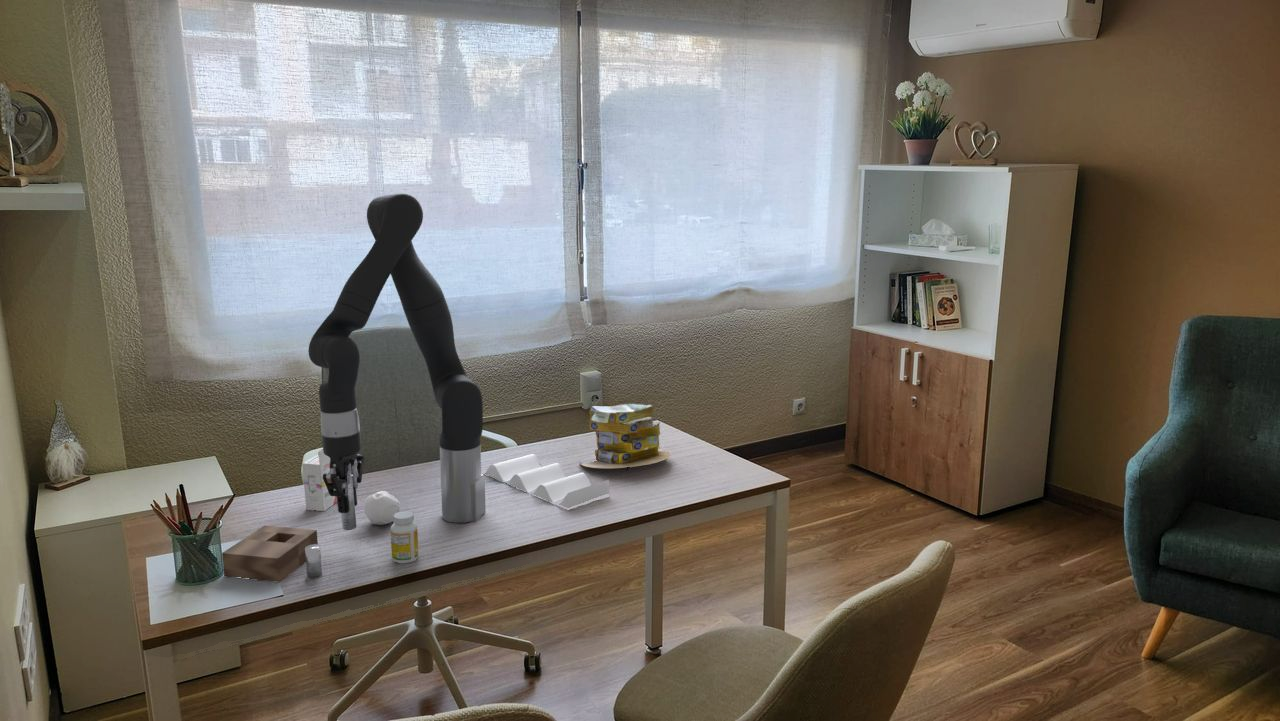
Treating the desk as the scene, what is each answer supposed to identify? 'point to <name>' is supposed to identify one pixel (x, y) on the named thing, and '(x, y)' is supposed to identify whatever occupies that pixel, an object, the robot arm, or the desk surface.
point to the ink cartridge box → (317, 483)
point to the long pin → (349, 517)
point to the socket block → (268, 553)
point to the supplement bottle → (404, 538)
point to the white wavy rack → (547, 481)
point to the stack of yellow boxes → (625, 436)
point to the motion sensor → (381, 507)
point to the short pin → (313, 561)
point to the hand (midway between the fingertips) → (348, 508)
